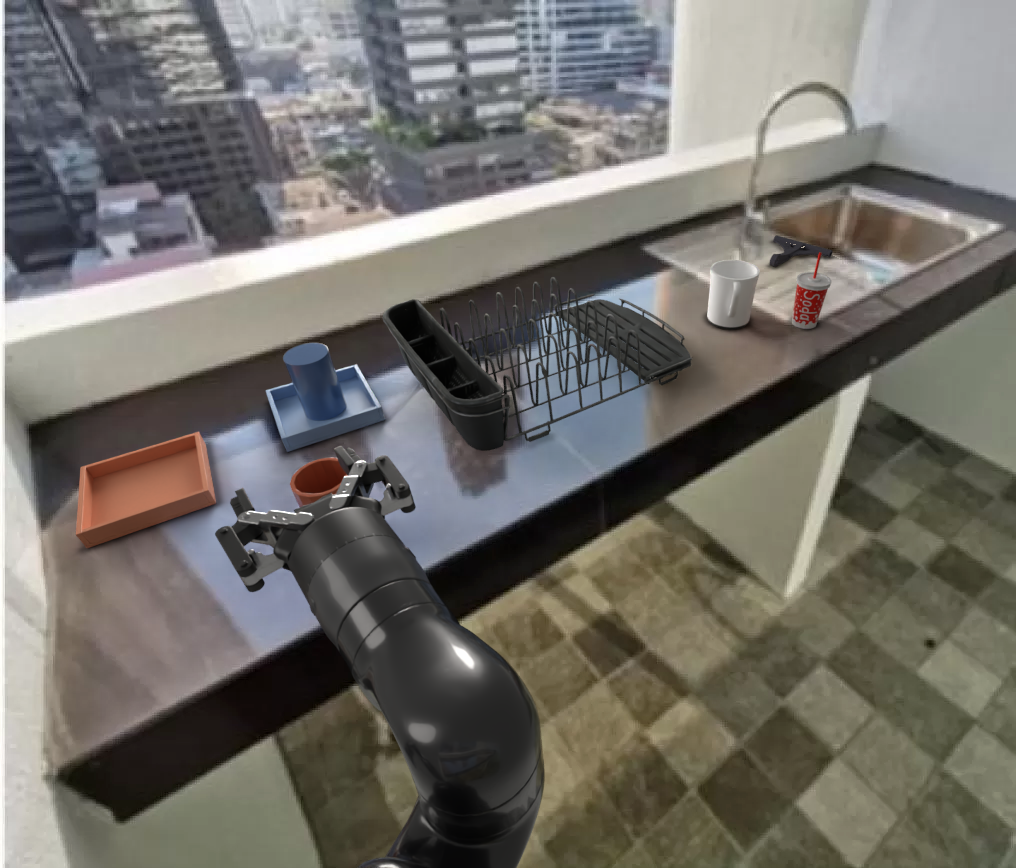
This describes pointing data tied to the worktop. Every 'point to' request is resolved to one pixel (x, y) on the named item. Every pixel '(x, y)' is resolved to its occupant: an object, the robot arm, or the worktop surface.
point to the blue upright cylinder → (315, 381)
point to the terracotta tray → (143, 489)
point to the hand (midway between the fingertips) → (293, 474)
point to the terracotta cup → (316, 480)
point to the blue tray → (306, 431)
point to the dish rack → (479, 397)
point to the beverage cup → (809, 297)
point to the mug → (731, 293)
